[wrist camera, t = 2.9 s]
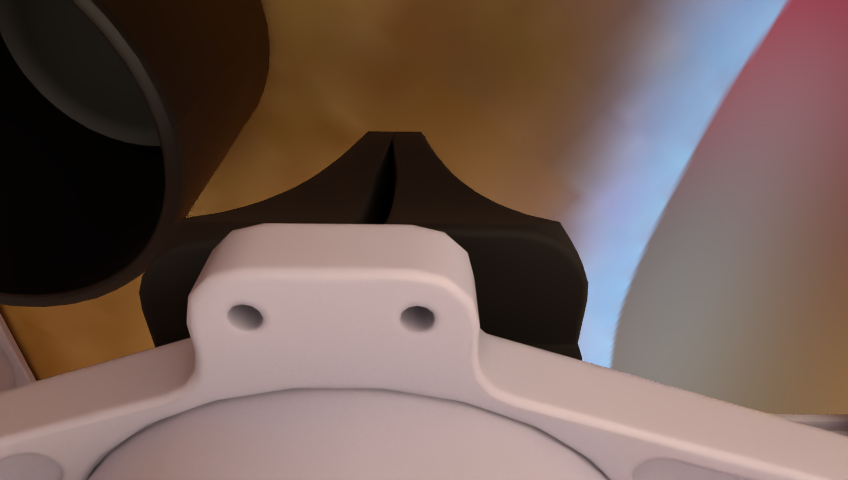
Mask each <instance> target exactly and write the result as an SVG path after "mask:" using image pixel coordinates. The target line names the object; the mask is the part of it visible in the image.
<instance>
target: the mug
mask: <svg viewBox="0 0 848 480" xmlns="http://www.w3.org/2000/svg"><path fill="white" fill-rule="evenodd" d="M268 69H269V38H268V29H267V23H266V19H265V15H264V11H263V8H262V4H261V1H260V0H0V304H2V305H10V306H27V307H49V306H58V305H68V304H74V303H78V302H82V301H87V300H91V299H95V298H98V297H100V296H103V295H105V294H107V293H110V292H112V291H114V290H117V289H119V288H120V287H122V286H124V285H126V284H128V283H129V282H131V281H132V280H134V279H135V278H137V277H138V276H140V275H141V274H143V273H144V272H145V271H146V269H147V268H148V266H149V265H150V263H151V262H152V260H153V259H154V257H155V255H156V254H157V252H158V251H159V249H160V247H161V246H162V244H163V243H164V241H165V239H166V238H167V236H168V235H169V234H170V232H171V231H172V230H173V228H174V227H175V226H176V224H177V223H178V222H179V220H180V219H183V218H185V217H186V216H187V214H188V213H189V211H190V210H191V208H192V206H193V205H194V203H195V202H196V200H197V199H198V197H199V196H200V194H201V192H202V191H203V189H204V188H205V186H206V185H207V183H208V182H209V180H210V179H211V177H212V175H213V174H214V172H215V171H216V169H217V168H218V166H219V165H220V163H221V161H222V160H223V158H224V157H225V155H226V154H227V152H228V151H229V149H230V147H231V146H232V144H233V143H234V141H235V140H236V138H237V137H238V135H239V134H240V132H241V130H242V129H243V127H244V126H245V124H246V123H247V121H248V120H249V118H250V116H251V115H252V113H253V112H254V110H255V109H256V107H257V105H258V103H259V100H260V98H261V96H262V93H263V90H264V87H265V83H266V79H267V74H268Z"/></svg>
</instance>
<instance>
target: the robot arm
mask: <svg viewBox="0 0 848 480" xmlns="http://www.w3.org/2000/svg"><path fill="white" fill-rule="evenodd" d="M139 294H140V300H141V306H142V311H143V313H144V316H145V319H146V322H147V325H148V328H149V331H150V334H151V336H152V339H153V342H154V345H155V348H152V349H148V350H145V351H141V352H138V353H134V354H131V355H127V356H123V357H120V358H116V359H113V360H109V361H106V362H102V363H99V364H95V365H91V366H88V367H84V368H81V369H77V370H74V371H70V372H67V373H63V374H60V375H56V376H52V377H49V378H45V379H42V380H38V381H36V380H35V378H34V376H33V374H32V372H31V370H30V368H29V366H28V364H27V363H26V361H25V359H24V357H23V355H22V353H21V351H20V349H19V347H18V346H17V344H16V342H15V340H14V338H13V336H12V334H11V332H10V330H9V329H8V327H7V325H6V323H5V321H4V319H3V317H2V315H1V314H0V480H848V415H847V414H846V415H844V414H767V413H764V412H760V411H757V410H753V409H750V408H746V407H742V406H739V405H736V404H732V403H729V402H725V401H722V400H718V399H714V398H711V397H708V396H704V395H701V394H697V393H693V392H690V391H687V390H683V389H680V388H676V387H672V386H669V385H665V384H662V383H658V382H655V381H652V380H648V379H645V378H640V377H637V376H634V375H630V374H627V373H623V372H620V371H616V370H613V369H609V368H606V367H602V366H599V365H595V364H592V363H588V362H585V361H582V356H581V353H580V350H579V346H578V339H579V335H580V330H581V326H582V321H583V317H584V312H585V308H586V303H587V295H588V281H587V278H586V274H585V271H584V267H583V264H582V262H581V259H580V257H579V255H578V252H577V251H576V249H575V247H574V245H573V243H572V241H571V240H570V238H569V236H568V235H567V233H566V232H565V230H564V228H563V227H562V225H561V223H560V222H557V221H552V220H548V219H543V218H539V217H534V216H530V215H526V214H523V213H520V212H518V211H515V210H512V209H509V208H507V207H504V206H502V205H499V204H497V203H495V202H493V201H491V200H490V199H488V198H486V197H484V196H482V195H480V194H479V193H477V192H475V191H474V190H473V189H471V188H470V187H468V186H467V185H466V184H464V183H463V182H461V181H460V180H459V179H458V178H457V177H456V176H454V175H453V174H452V173H451V172H450V170H449V169H448V168H447V167H446V166H445V165H444V164H443V162H442V161H441V160H440V159H439V158H438V156H437V155H436V154H435V152H434V151H433V149H432V148H431V146H430V145H429V143H428V142H427V140H426V137H425V136H424V135H423V134H422V133H421V132H381V131H368V132H367V133H366V134H365V135H364V136H363V137H362V138H361V139H360V140H359V141H357V142H356V143H355V144H354V145H353V146H352V147H351V148H350V149H349V150H348V151H347V152H346V153H344V154H343V155H342V156H341V157H340V158H339V159H337V160H336V161H335V162H333V163H332V164H331V165H329V166H328V167H327V168H325V169H324V170H323V171H321V172H320V173H318V174H317V175H315V176H314V177H312V178H311V179H309V180H307V181H306V182H304V183H302V184H300V185H298V186H296V187H294V188H292V189H290V190H288V191H286V192H283V193H281V194H278V195H276V196H274V197H271V198H269V199H266V200H264V201H261V202H258V203H255V204H251V205H248V206H245V207H241V208H237V209H233V210H229V211H225V212H220V213H214V214H208V215H202V216H196V217H191V218H183V219H180V220H179V222H178V223H177V224H176V226H175V227H174V228H173V230H172V231H171V232H170V234H169V235H168V236H167V238H166V239H165V241H164V243H163V244H162V246H161V247H160V249H159V251H158V252H157V254H156V255H155V257H154V259H153V260H152V262H151V263H150V265H149V266H148V268H147V269H146V271H145V273H144V274H143V276H142V280H141V286H140V291H139Z"/></svg>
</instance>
